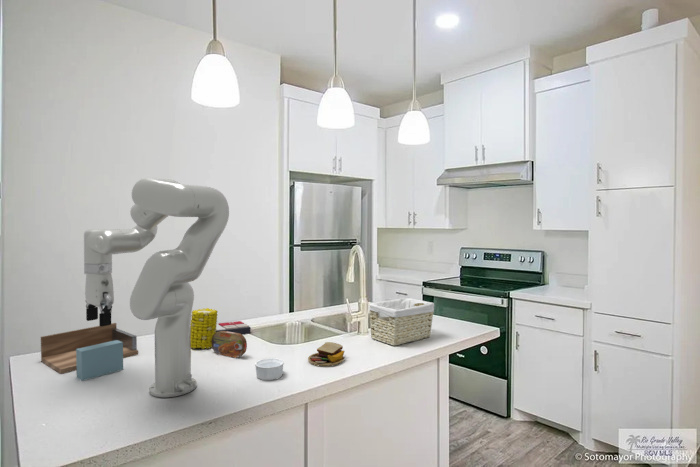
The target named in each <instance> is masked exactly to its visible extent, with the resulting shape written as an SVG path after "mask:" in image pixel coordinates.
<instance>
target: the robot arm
mask: <svg viewBox="0 0 700 467" xmlns="http://www.w3.org/2000/svg"><path fill="white" fill-rule="evenodd" d="M131 200H132V202H133V203H134V204H133V205H132V207H131V208H130V211H129V212H130V217H131V220H132V221H133V222H134V224H136V225H135V226H134V227H133V228H117V229H105V228H91V229H87V230H85V231H84V232H83V274H84V275H85V289H84V290H85V292H84V295H85V303H86V305H85V307H86V309H85V310H86V313H85V314H86V318H85V319H86V322H89V321H94V320H98V318H99V325H98V326H101V327H102V326H107V325H111V323H112V313H113V312H112V311H113V310H112V309H113V304H114V303H115V295H114V292H115V291H114V283H113V282H114V281H113V275H112V273H113V255H118V254H119V255H120V254H130V253H136V252H139V251H141V250H142V249H144V248H145V247H147V246H148V245H149V244H150V243H151V242H153V240H155V238H156V236H157V232H158V225H160V224H161V223H162V222H163V221H164V220H166V219H167V218H168V217H169V216H170V217H175V218H197V220H196V221H195V222H194V223H192V224H191V225H190V227H188V229H187V230H186V231H185V233H184V235H183V237H182V240H181V241H180V243H179V244H178V246H177V247H176V248H174V249H167V250H160V251H157V252H154V253H153V254H152V255H151V256H149V258H148V259H147V260H146V262H145V263H144V265H143V267H142V269H141V272H140V273H139V275H138V278H137V280H136V283H135V285H134V287H133V289H132V291H131V295H130V298H129V308H130V311H131V313H132V315H133V316H134V317H135V318H137V319H139V320H143V321H149V320H153V319H157V320H156V323H155V327H154V377H155V378H154V383H152V384H151V385H150V386H149V390H148V391H149V392H148V393H149V394H150V395H151V396H152V397H156V398H174V397H178V396H183V395H186V394H189V393H190V392H192V391H194V390H195V388H196V387H197V384H198V382H197V379H195V378H193V377H192V364H191V363H192V361H191V360H192V358H191V357H192V355H191V354H192V352H191V351H192V350H191V349H192V348H191V337H190V334H191V320H192V316H191V315H192V311H193V306H194V300H195V293H194V292H195V291H194V289H193V286H192V285H191V282H194V281H195V280H197V279H198V278H200V276H201V275H202V273H203V271H204V269H205V267H206V265H207V263H208V261H209V259H210V257H211V255H212V253H213V251H214V248H215V246H216V245H217V243H218V241H219V239H220V237H221V235H222V234H223V233H224V231H225V229H226V228H227V227H226V226H228V225H227V224H228V222H229V217H230V208H229V202H228V199H227V198H226V196H225V195H224V194H223V193H222V192H221V191H220V190H218V189H217V188H214V187H211V186H204V185H194V184H193V185H192V184H182V183H180V182H178V181H175V180H174V179H173V180H172V179H166V178H157V177H143V178H141V179H139V180H137V181H136V182H135V183H134V184H133V186H132V189H131ZM99 312H100V313H99Z"/></svg>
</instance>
